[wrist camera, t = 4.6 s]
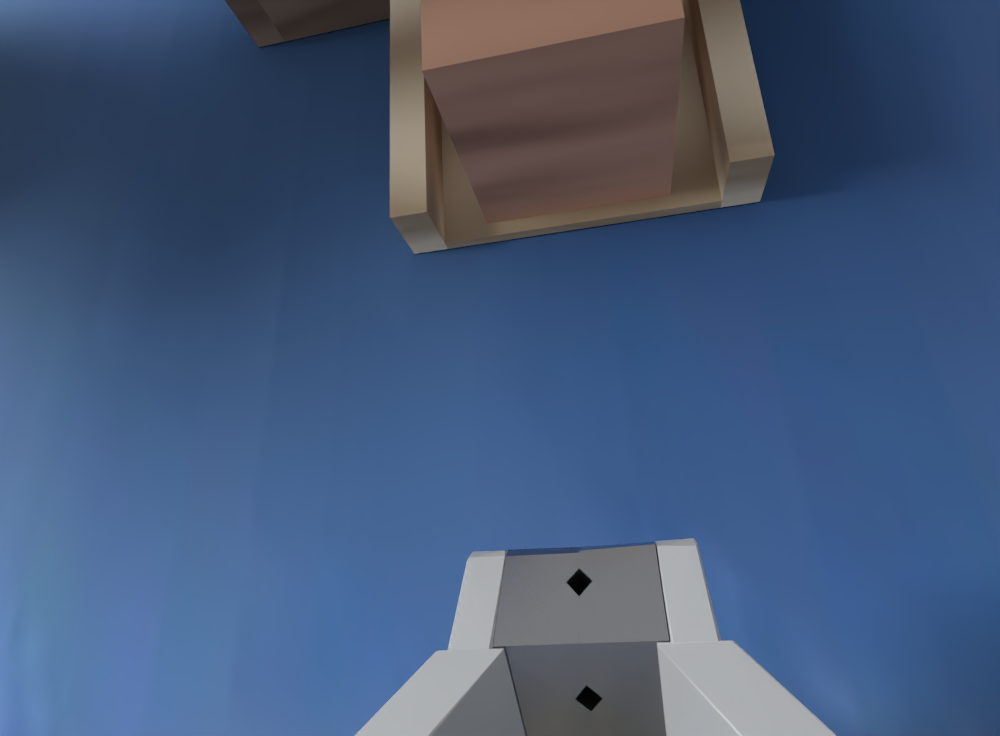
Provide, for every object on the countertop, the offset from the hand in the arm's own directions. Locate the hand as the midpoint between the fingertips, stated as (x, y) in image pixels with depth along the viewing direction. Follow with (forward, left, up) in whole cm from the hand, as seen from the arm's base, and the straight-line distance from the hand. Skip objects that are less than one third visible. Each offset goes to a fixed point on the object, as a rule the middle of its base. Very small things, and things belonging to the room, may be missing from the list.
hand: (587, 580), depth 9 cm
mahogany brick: (-8, +14, -9) cm, 19 cm away
